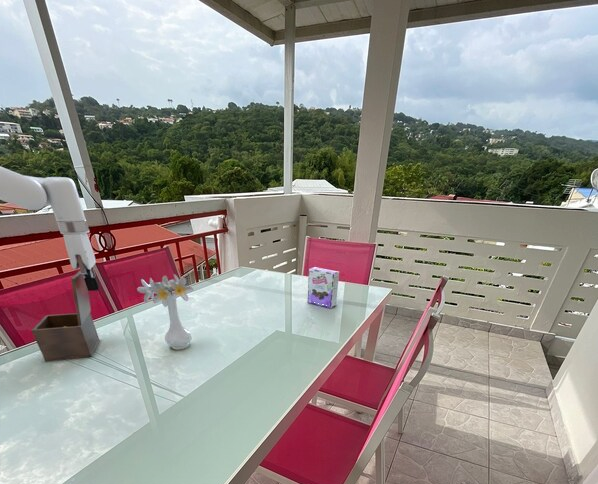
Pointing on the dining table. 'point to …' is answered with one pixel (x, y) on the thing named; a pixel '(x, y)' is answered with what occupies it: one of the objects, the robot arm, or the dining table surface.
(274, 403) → the dining table surface
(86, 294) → the breadbox lid
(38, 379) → the dining table surface
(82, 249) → the robot arm
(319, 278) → the candy box
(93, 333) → the box
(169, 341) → the flower vase
